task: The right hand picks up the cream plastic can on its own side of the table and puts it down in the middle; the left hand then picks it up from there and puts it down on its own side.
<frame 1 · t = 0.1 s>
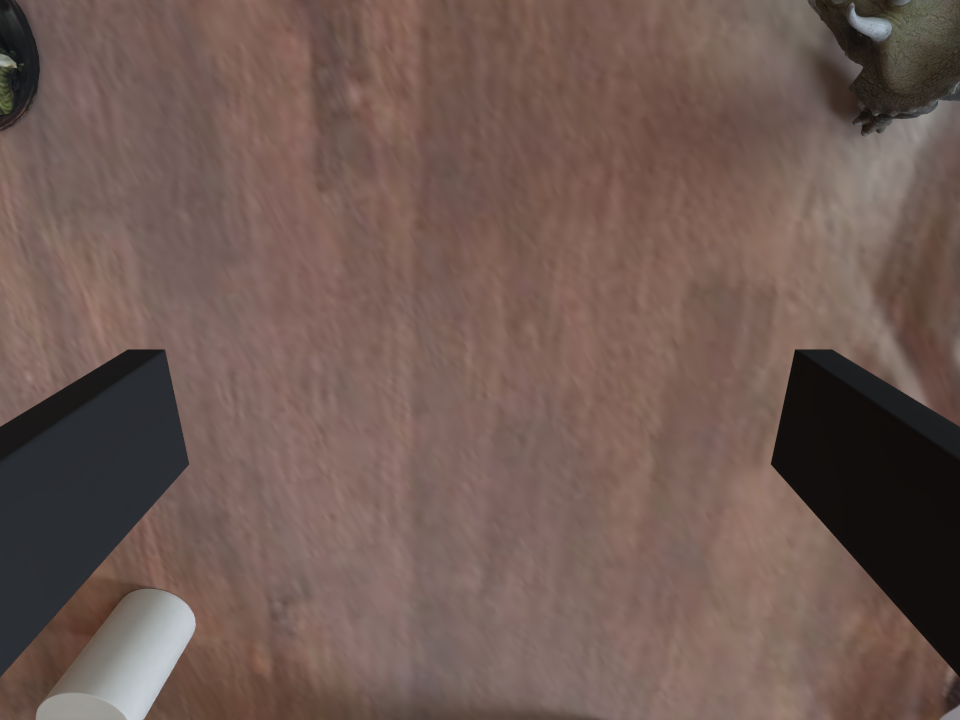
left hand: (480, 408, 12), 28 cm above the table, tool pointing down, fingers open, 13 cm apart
can: (156, 618, 51), on the table
toy dinosaur: (922, 52, 35), on the table
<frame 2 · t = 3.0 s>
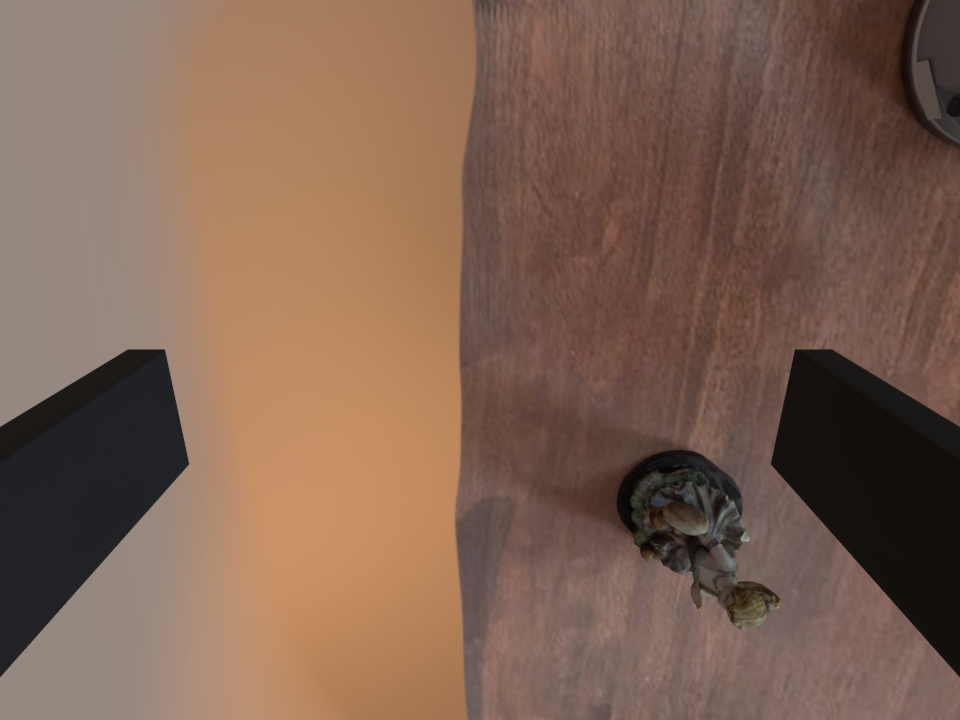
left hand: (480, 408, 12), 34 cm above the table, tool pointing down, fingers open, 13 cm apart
figurine: (678, 503, 53), on the table
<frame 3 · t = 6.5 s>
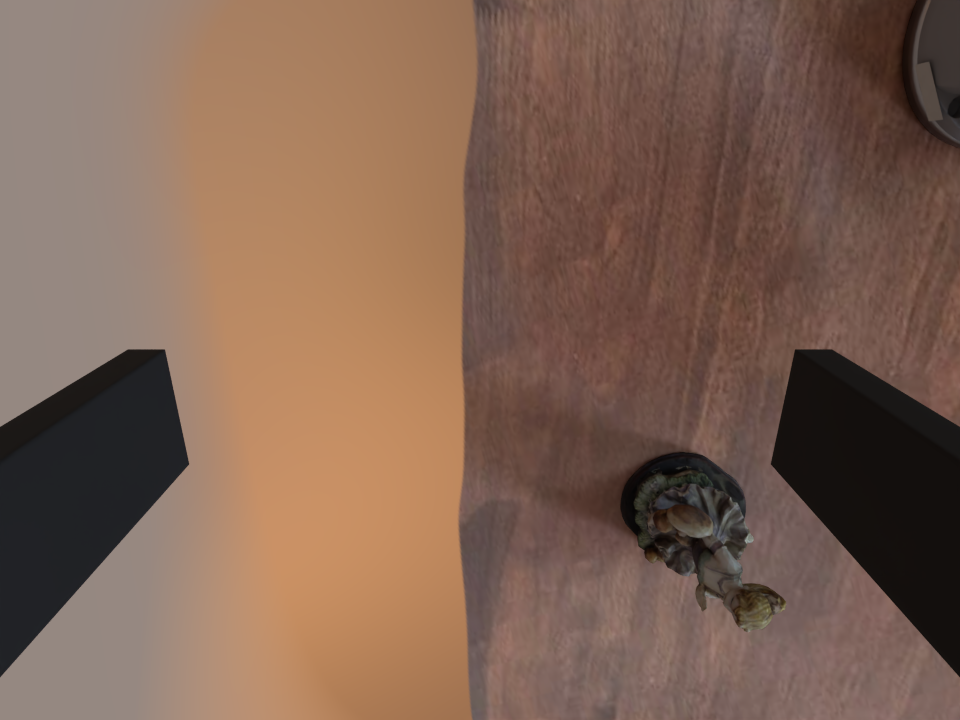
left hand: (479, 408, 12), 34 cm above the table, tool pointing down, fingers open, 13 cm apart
figurine: (681, 505, 53), on the table
when the right hand's fingers open (5 cm above the table, at t = 10.4 s): can drops 1 cm, on the table.
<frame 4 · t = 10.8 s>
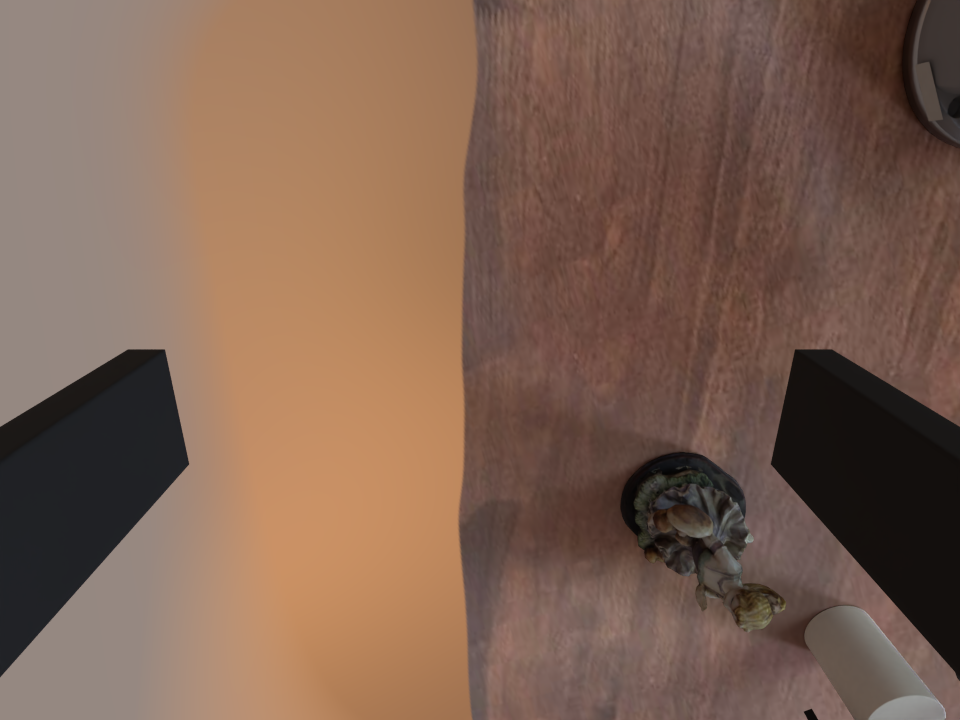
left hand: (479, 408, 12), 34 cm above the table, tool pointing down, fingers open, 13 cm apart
can: (837, 630, 59), on the table
figurine: (681, 505, 53), on the table
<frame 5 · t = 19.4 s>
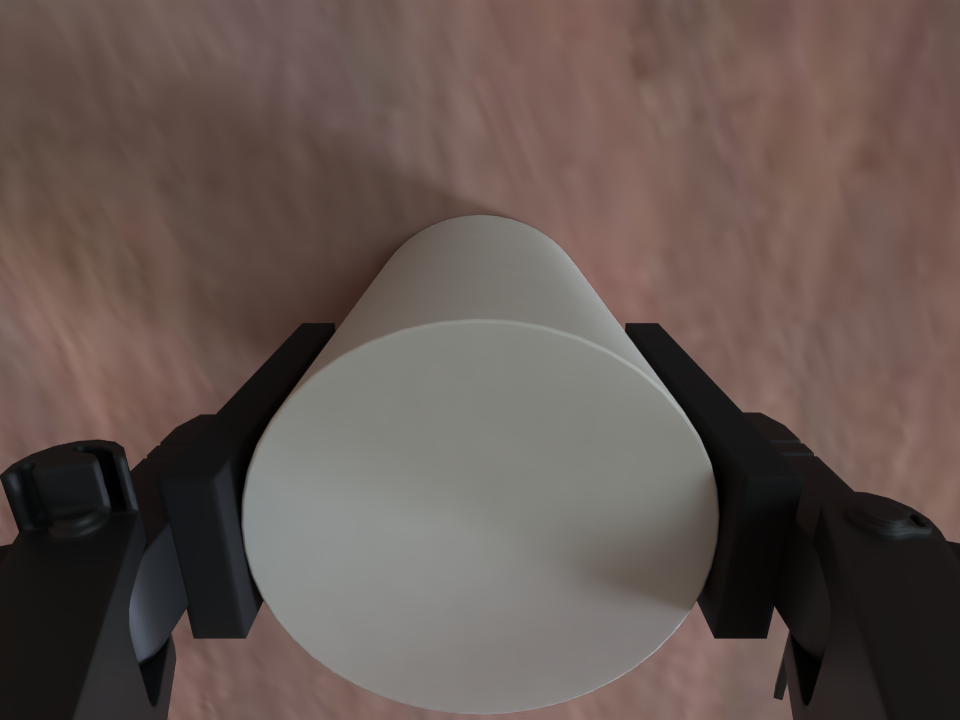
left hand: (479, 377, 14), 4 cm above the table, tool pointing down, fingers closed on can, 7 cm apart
can: (480, 328, 18), on the table, touching left hand
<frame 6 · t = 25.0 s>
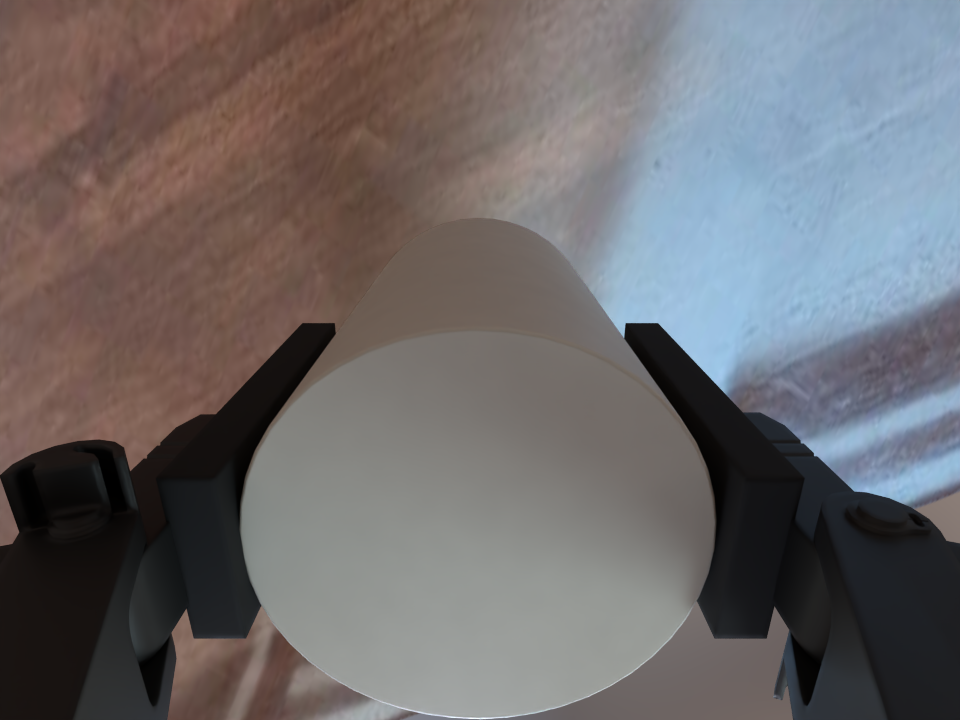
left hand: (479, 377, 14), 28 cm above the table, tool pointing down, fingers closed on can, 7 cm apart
can: (478, 331, 18), point 24 cm above the table, touching left hand
when the left hand's fingers open (5 cm above the table, at t = 30.9 s): can drops 2 cm, on the table.
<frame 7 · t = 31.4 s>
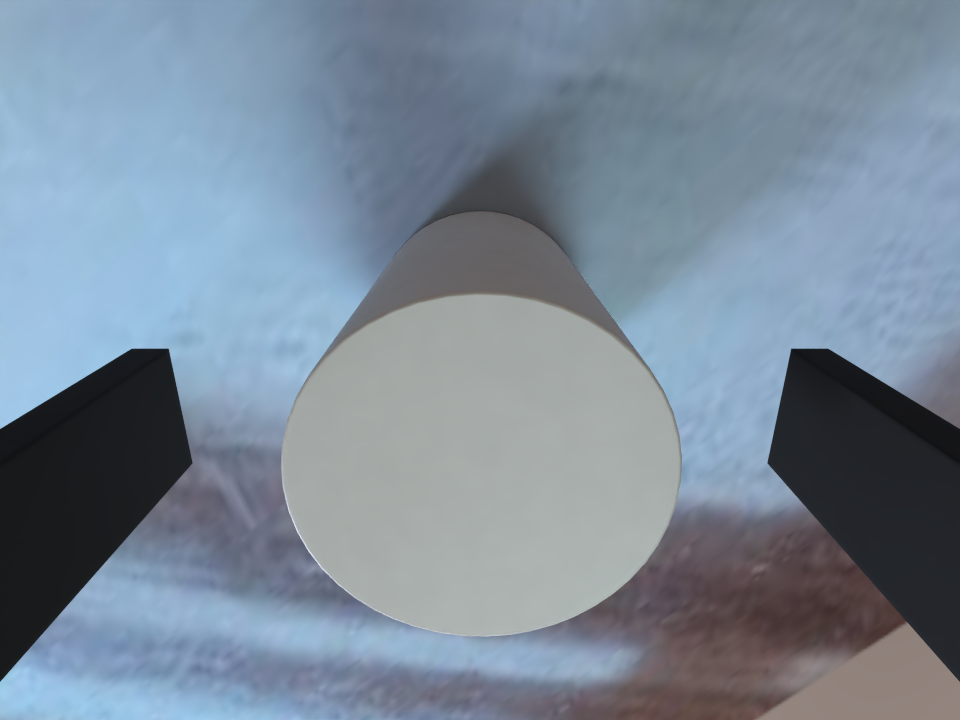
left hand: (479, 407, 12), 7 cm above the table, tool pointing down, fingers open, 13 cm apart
can: (480, 315, 19), on the table
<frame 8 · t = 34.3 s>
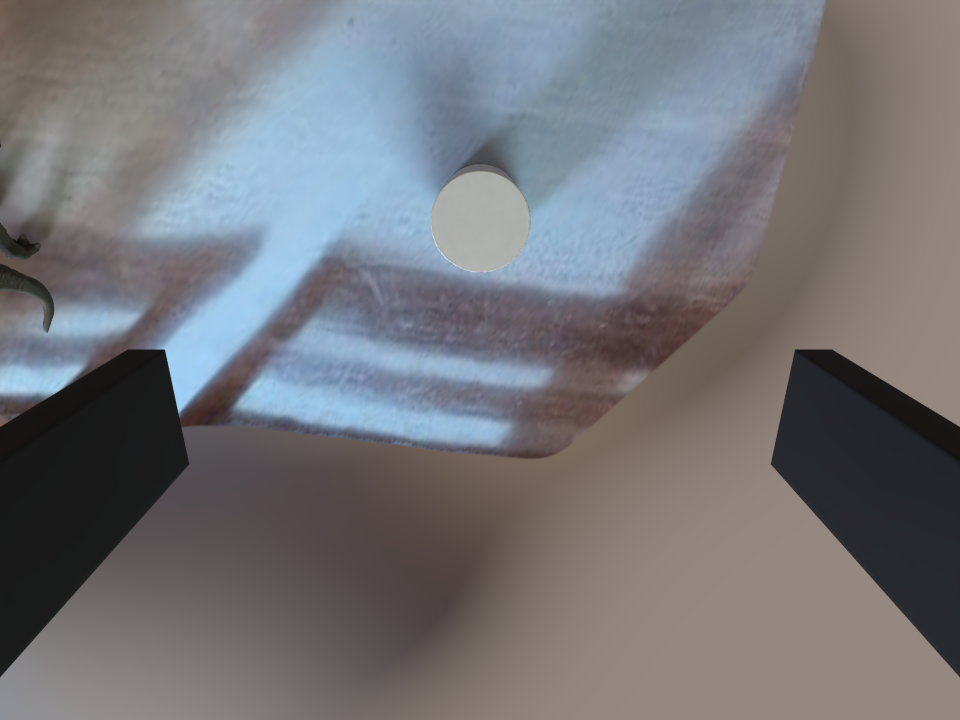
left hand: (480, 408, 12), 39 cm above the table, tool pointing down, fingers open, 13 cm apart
can: (480, 206, 48), on the table
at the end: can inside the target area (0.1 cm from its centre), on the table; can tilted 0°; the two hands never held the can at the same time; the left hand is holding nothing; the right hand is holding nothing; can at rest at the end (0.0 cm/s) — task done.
